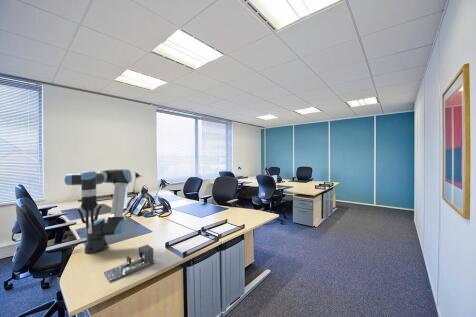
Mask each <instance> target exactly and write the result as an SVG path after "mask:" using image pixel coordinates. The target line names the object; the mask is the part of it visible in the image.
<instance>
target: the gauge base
mask: <svg viewBox="0 0 476 317" xmlns="http://www.w3.org/2000/svg"><path fill="white" fill-rule="evenodd" d="M142 256H143V261H142V262H139V263H137V264H134V265H132V266H129V264H128V263H127V262H125V263H123V264H120V265H119V266H116V267H114V268H111V269H108V270H106V271H103V274H104V276H105V277H106V278H107V280H108V282H109V283H112V282H114V281H117V280H121V279H123V278H124V277H127V276H130V275H132V274H134V273H137V272H139V271H141V270H144V269H146V268H149V267H151V266H154V265H155V264H156V263H155V261H154V248H153V247H152V246H151V245H149V244H145V245H142V246H139V247H138V258H139V257H142Z"/></svg>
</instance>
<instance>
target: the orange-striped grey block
mask: <svg viewBox="0 0 476 317" xmlns="http://www.w3.org/2000/svg"><path fill="white" fill-rule="evenodd" d="M142 261H143V256H142V257H139V256H138V257H136V258H134V257H132V256H129V255H127V256H126V263H128V264H129V266H132V265H134V264H137V263H139V262H142Z"/></svg>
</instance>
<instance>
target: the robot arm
mask: <svg viewBox="0 0 476 317" xmlns="http://www.w3.org/2000/svg"><path fill="white" fill-rule="evenodd" d="M132 180H133V178H132V173H131V170H129V169H124V168H123V169H121V168H120V169H107V170H100V171H97V172H96V171H95V170H92V171H90V170H89V171H82V172H81V173H68V174H66V175H65V177H64V184H65V185H67V186H81V205H80V206H79V207H78V208H76V209H75V210H76V211H77V212H78V214H79V217H80V221H81V222H82V224H85V228H86V243H85V246H84V253H85V254H95V253H100V252H102V251H105V250H106V249H107V248H108V247H109V243H108V241H107V238H106V236H116V235H122V234H123V233H124V232H125V231H126V229H127V228H126V227H127V223H128V222H127V219H126V218H125V216H124V206H125V200H126V199H125V197H126V190H127V187H128V186H129V183H131V182H132ZM104 183H105V184H108V183H109V184H112V185H113V186H114V187H113V189H114V190H113V195H112V203H111V209H110V215H109V216H108V217H107V219H105V217H100V218H99V213H100V210H101V208H102V205H101V204H99V203H98V202H97V197H98V196H97V185H101V184H104ZM82 209H83V210H84V211H85V212H84V214H85V217H84V215H83V211H82ZM95 210H96V211H95ZM89 212H90V214H89ZM94 212H95V215H94ZM89 216H90V218H89ZM89 219H90V221H89Z"/></svg>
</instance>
